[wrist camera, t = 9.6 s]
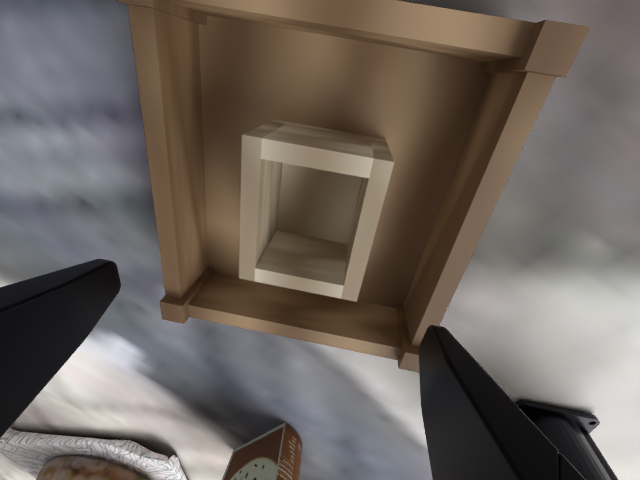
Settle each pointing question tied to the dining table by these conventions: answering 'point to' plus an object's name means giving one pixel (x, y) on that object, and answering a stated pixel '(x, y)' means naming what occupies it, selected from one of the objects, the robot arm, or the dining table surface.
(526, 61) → the crate
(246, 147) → the pale crate
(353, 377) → the dining table surface
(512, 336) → the dining table surface
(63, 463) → the cookie jar
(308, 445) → the dining table surface
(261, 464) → the food container
